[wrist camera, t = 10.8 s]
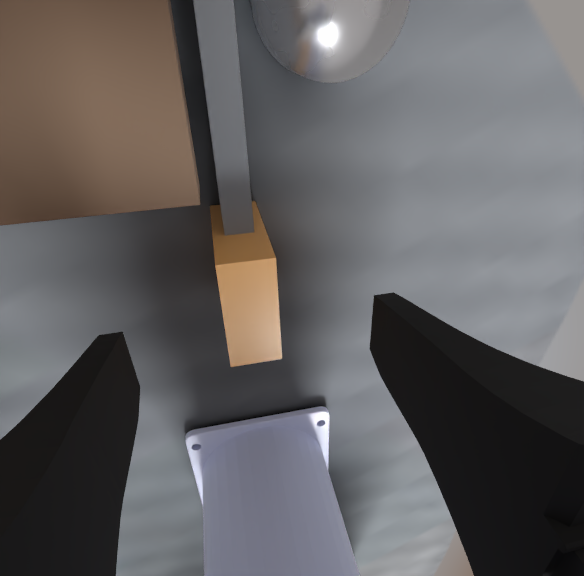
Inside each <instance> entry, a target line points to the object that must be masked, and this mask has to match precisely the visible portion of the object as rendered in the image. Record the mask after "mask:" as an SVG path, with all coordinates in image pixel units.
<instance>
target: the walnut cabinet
mask: <svg viewBox="0 0 584 576" xmlns="http://www.w3.org/2000/svg"><path fill="white" fill-rule="evenodd" d="M194 205H200V186H199V179H198V173H197V167H196V160H195V154H194V148H193V141H192V135H191V129H190V123H189V116H188V110H187V104H186V97H185V91H184V85H183V78H182V72H181V66H180V59H179V53H178V47H177V40H176V34H175V28H174V22H173V15H172V9H171V3H170V0H0V225H9V224H18V223H28V222H38V221H48V220H57V219H67V218H77V217H87V216H96V215H106V214H116V213H125V212H135V211H145V210H155V209H164V208H174V207H184V206H194Z"/></svg>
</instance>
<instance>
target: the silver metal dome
mask: <svg viewBox="0 0 584 576" xmlns="http://www.w3.org/2000/svg"><path fill="white" fill-rule="evenodd" d="M250 1H251V8H252V14H253V18H254V22H255V25H256V28H257V30H258V33H259V35H260V38H261V39H262V41H263V43H264V45H265V46H266V48H267V49H268V51H269V52H270V54H271V55H272V56H273V57H274V58H275V59H276V60H277V61H278V62H279V63H280V64H281V65H283V66H284V67H285V68H287V69H288V70H290V71H291V72H293V73H295V74H298V75H300V76H302V77H305V78H307V79H310V80H314V81H317V82H324V83H338V82H343V81H348V80H350V79H353V78H356V77H358V76H360V75H362V74H364V73H365V72H367V71H368V70H370V69H371V68H373V67H374V66H375V65H376V64H377V63H378V62H379V61H380V60H381V59H382V58H383V57H384V56H385V55H386V54H387V52H388V51H389V50H390V48H391V47H392V45H393V44H394V42H395V40H396V39H397V37H398V35H399V33H400V31H401V29H402V26H403V24H404V21H405V18H406V15H407V12H408V7H409V2H410V0H250Z"/></svg>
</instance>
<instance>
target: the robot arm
mask: <svg viewBox="0 0 584 576" xmlns="http://www.w3.org/2000/svg"><path fill="white" fill-rule="evenodd" d="M370 351H371V353H372V356H373V358H374V361H375V364H376V366H377V368H378V371H379V373H380V375H381V378H382V379H383V381H384V383H385V385H386V387H387V388H388V390H389V392H390V394H391V395H392V397H393V399H394V401H395V402H396V404H397V406H398V408H399V409H400V411H401V413H402V415H403V416H404V418H405V420H406V421H407V423H408V425H409V427H410V428H411V430H412V432H413V434H414V435H415V437H416V439H417V441H418V443H419V444H420V446H421V448H422V450H423V452H424V454H425V457H426V459H427V461H428V463H429V465H430V468H431V470H432V472H433V474H434V477H435V479H436V481H437V483H438V486H439V488H440V490H441V493H442V495H443V498H444V500H445V502H446V505H447V507H448V509H449V512H450V514H451V517H452V519H453V522H454V524H455V527H456V529H457V532H458V534H459V537H460V540H461V542H462V545H463V547H464V550H465V552H466V555H467V557H468V560H469V562H470V566H471V568H472V571H473V574H474V576H584V382H583V381H580V380H577V379H574V378H570V377H567V376H564V375H561V374H558V373H556V372H553V371H550V370H547V369H544V368H541V367H538V366H536V365H533V364H530V363H528V362H525V361H523V360H520V359H518V358H516V357H513V356H511V355H509V354H506V353H504V352H502V351H499V350H497V349H495V348H493V347H491V346H488V345H486V344H484V343H482V342H480V341H478V340H476V339H474V338H472V337H471V336H469V335H467V334H465V333H463V332H461V331H459V330H457V329H455V328H454V327H452V326H450V325H448V324H447V323H445V322H443V321H441V320H440V319H438V318H436V317H435V316H433V315H431V314H429V313H428V312H426V311H424V310H423V309H421V308H419V307H418V306H416V305H414V304H413V303H411V302H409V301H408V300H406V299H404V298H403V297H401V296H399V295H397V294H395V293H388V294H381V295H374V303H373V315H372V327H371V339H370ZM139 399H140V385H139V382H138V379H137V376H136V372H135V369H134V366H133V363H132V360H131V357H130V354H129V351H128V347H127V344H126V341H125V338H124V335H123V332H118V333H111V334H104V335H99V336H98V337H97V338H96V339H95V340H94V341H93V343H92V344H91V345H90V346H89V347H88V348H87V350H86V351H85V352H84V353H83V354H82V355H81V357H80V358H79V359H78V360H77V361H76V363H75V364H74V365H73V366H72V367H71V368H70V369H69V371H68V372H67V373H66V374H65V375H64V376H63V377H62V379H61V380H60V381H59V382H58V383H57V384H56V385H55V386H54V388H53V389H52V390H51V391H50V392H49V393H48V394H47V395H46V396H45V397H44V398H43V399H42V400H41V401H40V402H39V403H38V404H37V405H36V406H35V407H34V408H33V409H32V410H31V411H30V412H29V413H28V414H27V415H26V416H25V418H24V419H22V420H21V421H20V422H19V423H18V424H17V425H16V426H15V427H14V428H13V429H12V430H11V431H10V432H9V433H8V434H7V435H5V436H4V437H3V438H2V439H1V440H0V576H116V563H117V550H118V539H119V528H120V517H121V510H122V503H123V497H124V492H125V487H126V481H127V476H128V471H129V466H130V461H131V456H132V451H133V445H134V440H135V435H136V430H137V424H138V416H139ZM320 420H321V421H320ZM185 442H186V446H187V450H188V453H189V457H190V461H191V465H192V468H193V472H194V476H195V480H196V483H197V487H198V491H199V494H200V498H201V502H202V506H203V538H204V576H360V573H359V570H358V567H357V563H356V560H355V557H354V554H353V550H352V547H351V544H350V540H349V537H348V534H347V531H346V527H345V524H344V521H343V518H342V514H341V511H340V508H339V505H338V501H337V498H336V495H335V492H334V488H333V485H332V482H331V478H330V475H329V472H328V462H329V412H328V409H327V408H326V407H323V406H320V407H314V408H309V409H303V410H298V411H292V412H287V413H281V414H276V415H270V416H265V417H260V418H254V419H249V420H243V421H238V422H232V423H227V424H221V425H216V426H211V427H205V428H200V429H194V430H191V431H189V432H188V433H187V434H186V441H185Z"/></svg>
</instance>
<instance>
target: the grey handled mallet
mask: <svg viewBox="0 0 584 576" xmlns="http://www.w3.org/2000/svg"><path fill="white" fill-rule="evenodd" d="M193 6H194V14H195V21H196V29H197V36H198V44H199V51H200V59H201V66H202V74H203V81H204V88H205V96H206V103H207V111H208V118H209V126H210V133H211V141H212V148H213V156H214V163H215V171H216V178H217V186H218V193H219V201H220V205H211V206H210V214H211V225H212V236H213V247H214V258H215V267H216V274H217V280H218V287H219V293H220V300H221V307H222V313H223V320H224V326H225V333H226V339H227V346H228V352H229V359H230V365H231V367H235V366H242V365H248V364H254V363H260V362H266V361H272V360H278V359H282V347H281V330H280V314H279V298H278V282H277V266H276V256H275V254H274V251H273V248H272V245H271V243H270V240H269V237H268V235H267V232H266V229H265V226H264V224H263V221H262V218H261V215H260V213H259V210H258V207H257V204H256V202H255V201H252V199H251V188H250V177H249V166H248V155H247V144H246V133H245V121H244V110H243V99H242V88H241V77H240V66H239V55H238V44H237V33H236V21H235V10H234V0H193Z"/></svg>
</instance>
